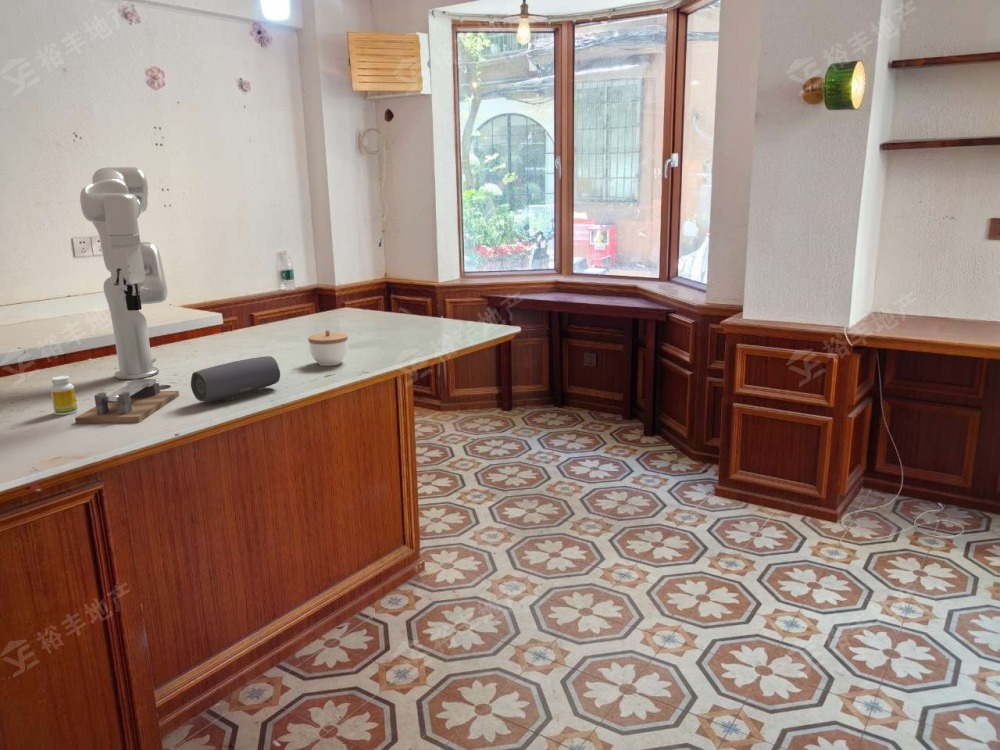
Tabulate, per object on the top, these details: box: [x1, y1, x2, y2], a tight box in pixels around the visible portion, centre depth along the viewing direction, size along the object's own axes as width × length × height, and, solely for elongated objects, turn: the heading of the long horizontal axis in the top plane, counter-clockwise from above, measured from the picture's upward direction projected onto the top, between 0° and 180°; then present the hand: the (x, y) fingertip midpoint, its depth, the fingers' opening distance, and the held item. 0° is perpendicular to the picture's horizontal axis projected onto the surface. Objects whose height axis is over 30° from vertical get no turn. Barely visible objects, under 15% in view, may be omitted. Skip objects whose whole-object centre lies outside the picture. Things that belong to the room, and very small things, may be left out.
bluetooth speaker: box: [190, 355, 281, 402], centre depth 205 cm, size 23×9×10 cm, turn 141°
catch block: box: [131, 382, 161, 396], centre depth 205 cm, size 3×7×3 cm, turn 91°
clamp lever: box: [103, 378, 157, 403], centre depth 196 cm, size 19×6×2 cm, turn 0°
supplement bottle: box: [50, 375, 79, 416], centre depth 193 cm, size 5×5×10 cm
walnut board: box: [74, 390, 180, 425], centre depth 196 cm, size 24×16×6 cm, turn 0°
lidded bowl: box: [307, 329, 349, 367], centre depth 242 cm, size 13×13×11 cm
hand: (134, 309), depth 200 cm, fingers closed
